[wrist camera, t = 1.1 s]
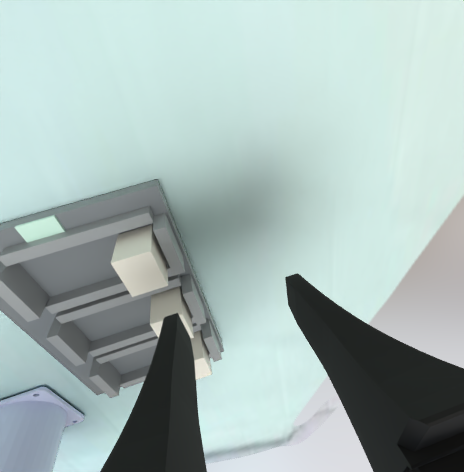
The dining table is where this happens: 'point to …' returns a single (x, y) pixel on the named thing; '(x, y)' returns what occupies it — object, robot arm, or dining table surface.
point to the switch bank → (95, 285)
